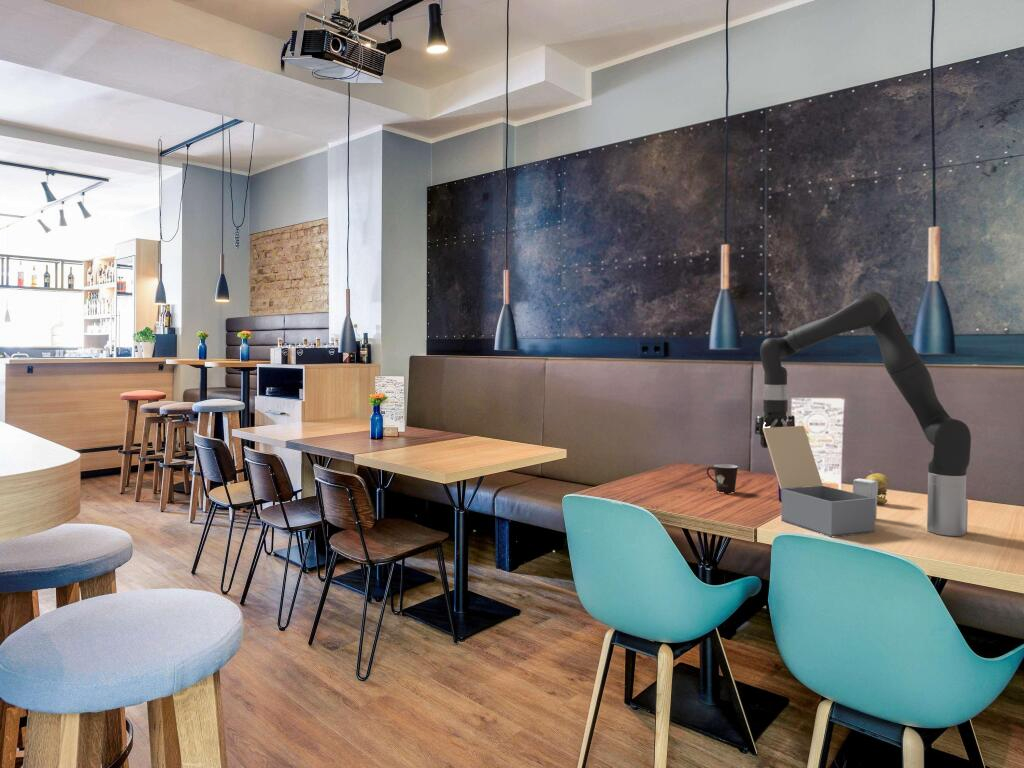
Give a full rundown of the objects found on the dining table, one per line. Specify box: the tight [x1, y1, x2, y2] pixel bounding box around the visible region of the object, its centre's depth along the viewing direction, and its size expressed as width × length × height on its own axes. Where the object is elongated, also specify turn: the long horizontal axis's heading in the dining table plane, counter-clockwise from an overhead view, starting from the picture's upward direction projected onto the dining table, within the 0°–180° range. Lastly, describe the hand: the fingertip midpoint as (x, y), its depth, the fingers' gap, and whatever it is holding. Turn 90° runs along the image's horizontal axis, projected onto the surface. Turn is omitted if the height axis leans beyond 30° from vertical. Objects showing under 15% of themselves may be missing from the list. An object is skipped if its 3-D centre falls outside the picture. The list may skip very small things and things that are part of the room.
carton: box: [780, 485, 876, 538], centre depth 198 cm, size 16×20×10 cm
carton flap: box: [763, 425, 824, 490], centre depth 214 cm, size 16×20×6 cm
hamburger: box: [864, 470, 890, 505], centre depth 228 cm, size 8×7×12 cm
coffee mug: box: [706, 463, 739, 493], centre depth 250 cm, size 12×9×10 cm
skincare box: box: [852, 478, 878, 520], centre depth 208 cm, size 6×4×12 cm
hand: (774, 446), depth 219 cm, fingers open, 8 cm apart
